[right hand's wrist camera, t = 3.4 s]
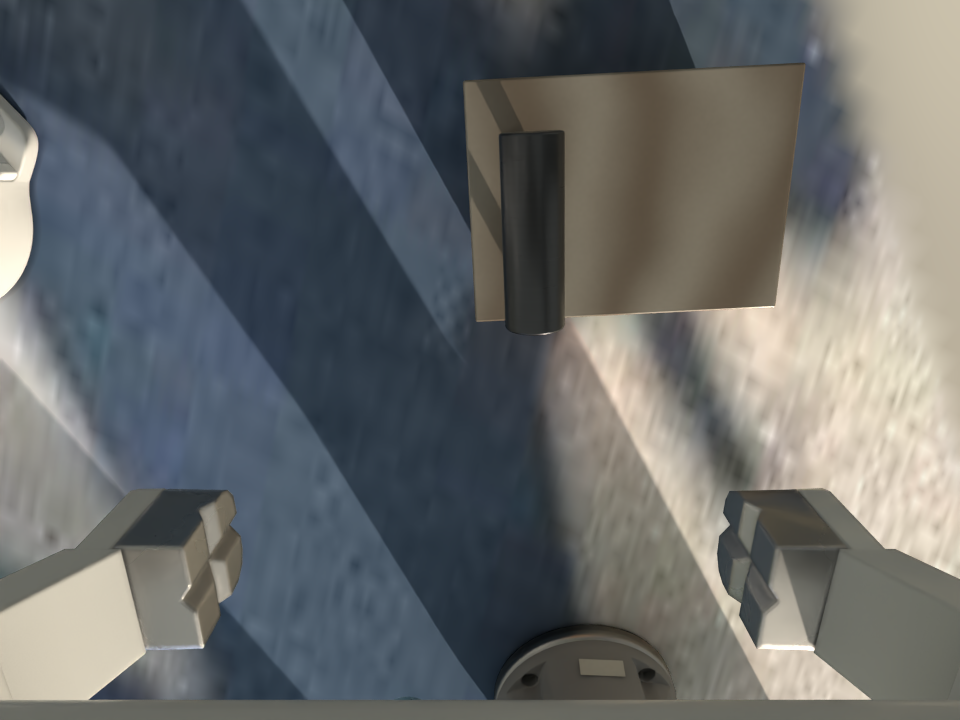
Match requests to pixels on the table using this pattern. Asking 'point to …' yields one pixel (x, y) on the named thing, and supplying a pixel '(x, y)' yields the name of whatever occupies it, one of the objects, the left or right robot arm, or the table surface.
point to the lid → (628, 191)
